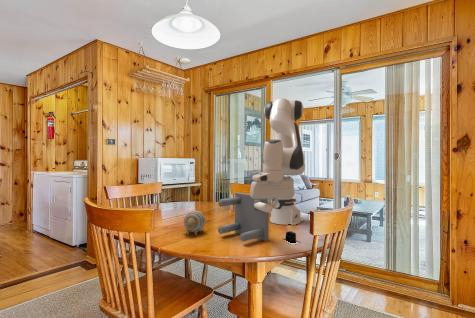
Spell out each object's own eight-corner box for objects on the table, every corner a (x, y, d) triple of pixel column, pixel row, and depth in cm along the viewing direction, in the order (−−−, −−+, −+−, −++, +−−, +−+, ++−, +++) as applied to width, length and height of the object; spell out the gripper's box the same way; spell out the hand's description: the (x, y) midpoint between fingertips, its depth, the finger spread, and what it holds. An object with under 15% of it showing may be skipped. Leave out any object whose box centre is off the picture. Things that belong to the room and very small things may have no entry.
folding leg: (252, 209, 125) (252, 200, 125) (258, 209, 127) (258, 199, 127) (265, 214, 115) (265, 203, 115) (272, 213, 117) (272, 203, 117)
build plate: (277, 239, 130) (277, 229, 130) (290, 237, 133) (290, 228, 133) (291, 247, 118) (292, 236, 118) (305, 245, 121) (305, 235, 121)
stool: (238, 230, 141) (238, 192, 141) (268, 239, 127) (269, 197, 127) (216, 236, 131) (217, 195, 131) (247, 246, 117) (247, 200, 116)
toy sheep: (179, 237, 129) (179, 213, 129) (189, 227, 145) (189, 207, 145) (201, 238, 128) (201, 214, 128) (208, 228, 145) (208, 208, 144)
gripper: (290, 175, 125) (289, 205, 125) (248, 176, 118) (248, 207, 118) (297, 176, 119) (296, 208, 119) (254, 177, 112) (254, 210, 112)
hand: (272, 208), depth 119 cm, fingers closed
